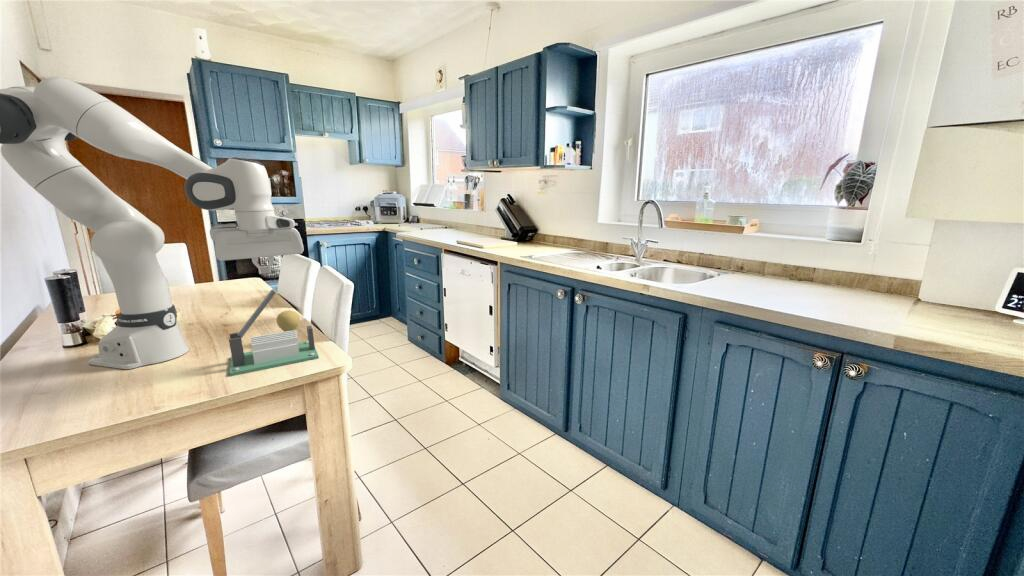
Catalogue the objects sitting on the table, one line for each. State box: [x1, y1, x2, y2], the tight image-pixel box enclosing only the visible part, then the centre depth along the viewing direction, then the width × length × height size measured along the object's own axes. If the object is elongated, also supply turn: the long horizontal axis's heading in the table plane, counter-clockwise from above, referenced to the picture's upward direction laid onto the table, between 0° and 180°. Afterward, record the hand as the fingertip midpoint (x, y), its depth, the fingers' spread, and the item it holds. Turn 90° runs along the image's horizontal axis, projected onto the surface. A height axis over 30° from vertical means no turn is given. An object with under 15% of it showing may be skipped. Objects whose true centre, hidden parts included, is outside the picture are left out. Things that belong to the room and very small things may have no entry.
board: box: [228, 325, 320, 377], centre depth 114 cm, size 21×14×8 cm, turn 123°
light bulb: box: [276, 309, 301, 340], centre depth 127 cm, size 6×6×10 cm
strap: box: [236, 288, 277, 340], centre depth 110 cm, size 17×3×1 cm
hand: (265, 273), depth 110 cm, fingers closed
